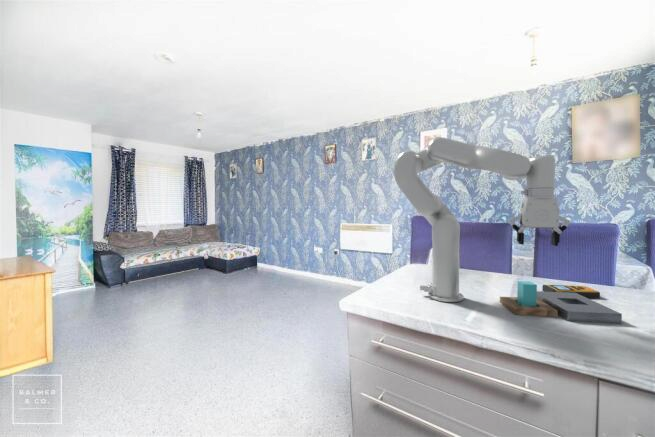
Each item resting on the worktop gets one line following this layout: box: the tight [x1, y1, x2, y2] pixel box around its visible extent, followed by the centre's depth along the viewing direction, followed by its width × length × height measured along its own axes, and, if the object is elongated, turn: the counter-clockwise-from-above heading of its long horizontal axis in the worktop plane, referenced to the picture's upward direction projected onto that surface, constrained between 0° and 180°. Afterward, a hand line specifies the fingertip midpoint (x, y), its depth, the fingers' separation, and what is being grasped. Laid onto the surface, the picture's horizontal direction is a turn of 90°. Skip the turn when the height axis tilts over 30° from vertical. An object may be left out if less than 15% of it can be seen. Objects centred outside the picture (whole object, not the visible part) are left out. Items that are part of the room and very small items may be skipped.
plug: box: [516, 280, 538, 307], centre depth 96 cm, size 4×4×9 cm
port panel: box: [537, 290, 623, 325], centre depth 94 cm, size 14×20×3 cm
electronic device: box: [542, 284, 601, 299], centre depth 110 cm, size 8×16×3 cm, turn 79°
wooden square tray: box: [499, 296, 559, 318], centre depth 96 cm, size 12×12×2 cm
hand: (537, 244), depth 96 cm, fingers open, 9 cm apart
